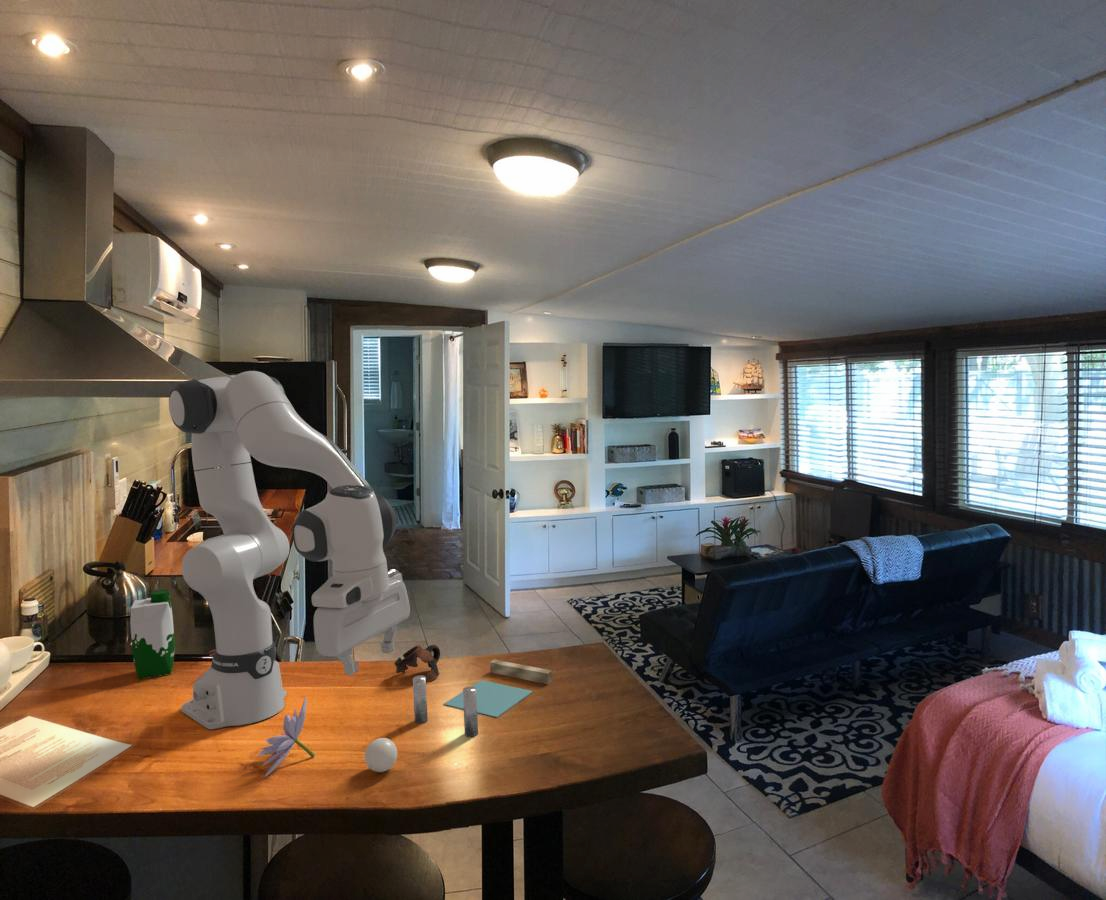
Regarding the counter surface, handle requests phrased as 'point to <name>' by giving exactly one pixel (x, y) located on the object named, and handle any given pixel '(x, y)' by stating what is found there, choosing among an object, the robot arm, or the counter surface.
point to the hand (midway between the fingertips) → (370, 662)
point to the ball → (381, 755)
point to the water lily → (286, 739)
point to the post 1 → (420, 699)
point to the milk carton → (152, 635)
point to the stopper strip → (521, 671)
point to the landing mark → (492, 698)
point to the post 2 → (470, 711)
